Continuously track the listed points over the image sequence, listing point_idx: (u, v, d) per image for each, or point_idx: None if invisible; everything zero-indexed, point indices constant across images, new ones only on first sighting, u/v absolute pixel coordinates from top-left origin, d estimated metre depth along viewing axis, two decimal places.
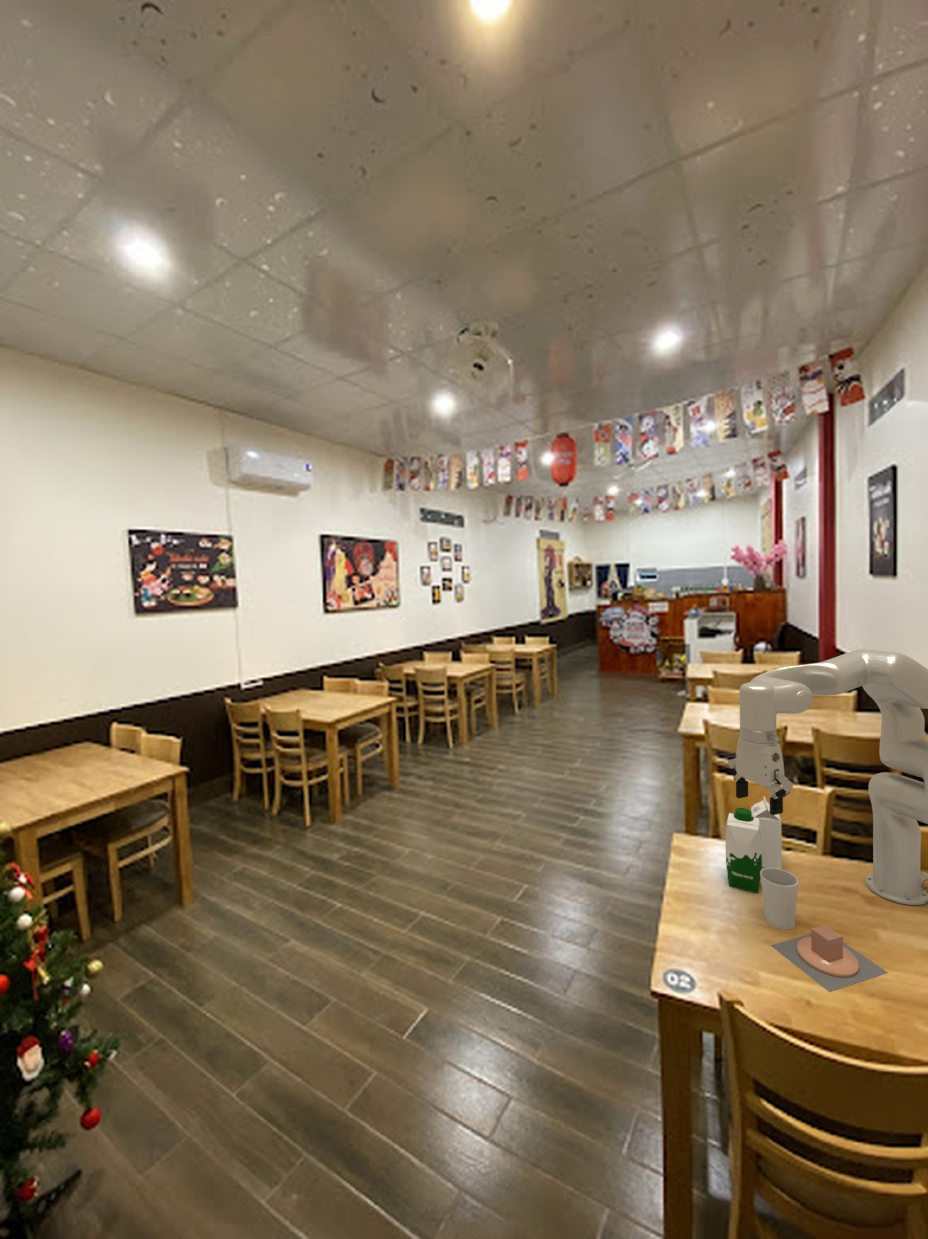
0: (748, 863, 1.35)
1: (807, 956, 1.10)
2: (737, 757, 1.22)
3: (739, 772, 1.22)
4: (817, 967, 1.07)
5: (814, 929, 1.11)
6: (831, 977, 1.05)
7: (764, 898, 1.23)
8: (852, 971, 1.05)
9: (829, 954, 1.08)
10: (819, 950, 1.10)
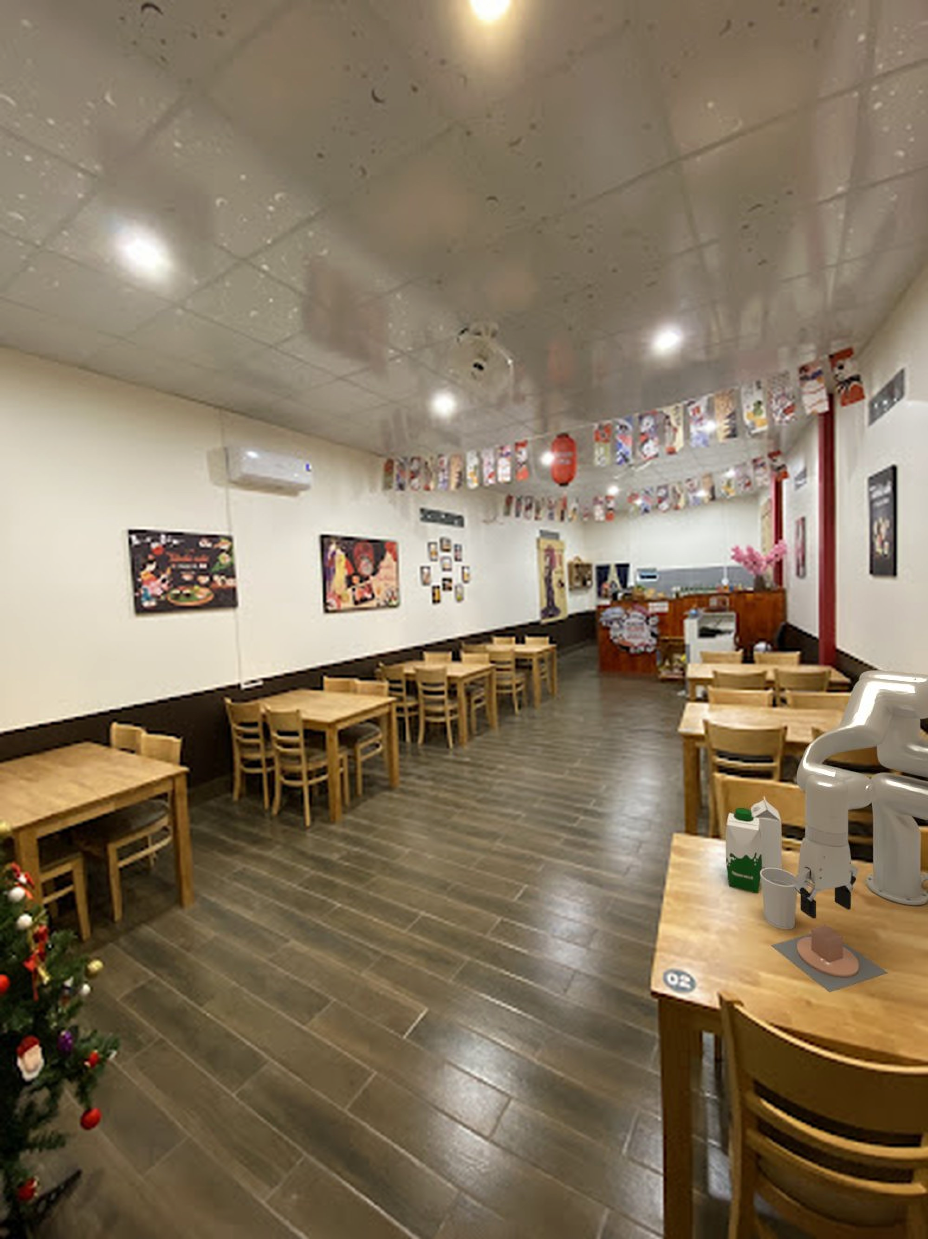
0: (748, 863, 1.35)
1: (807, 956, 1.10)
2: (821, 871, 1.06)
3: (822, 886, 1.06)
4: (817, 967, 1.07)
5: (814, 929, 1.11)
6: (831, 977, 1.05)
7: (764, 898, 1.23)
8: (852, 971, 1.05)
9: (829, 954, 1.08)
10: (819, 950, 1.10)
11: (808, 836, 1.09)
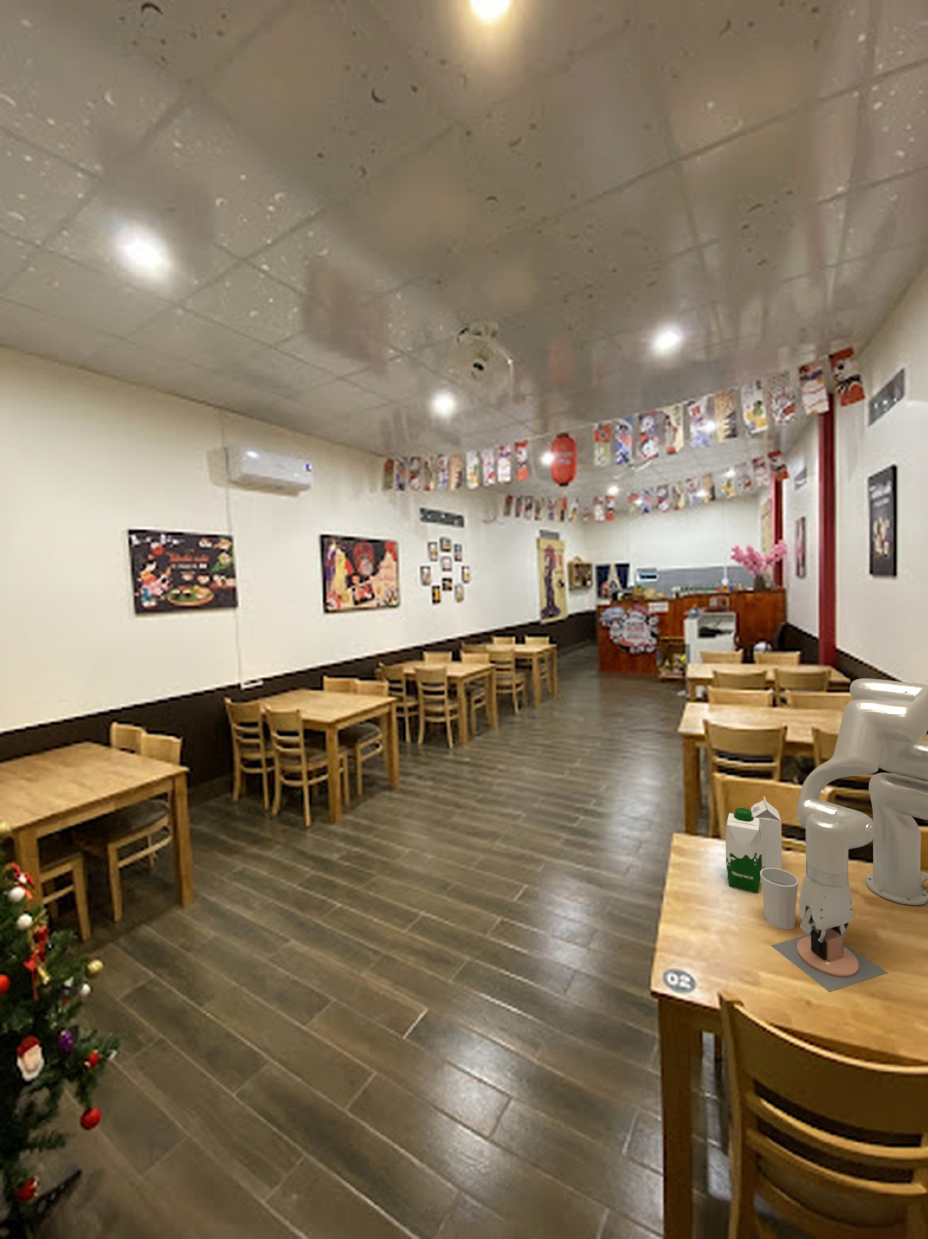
0: (748, 863, 1.35)
1: (807, 956, 1.10)
2: (821, 911, 1.06)
3: (823, 926, 1.07)
4: (817, 967, 1.07)
5: None
6: (831, 977, 1.05)
7: (764, 898, 1.23)
8: (852, 970, 1.05)
9: (829, 954, 1.08)
10: None
11: (809, 875, 1.09)
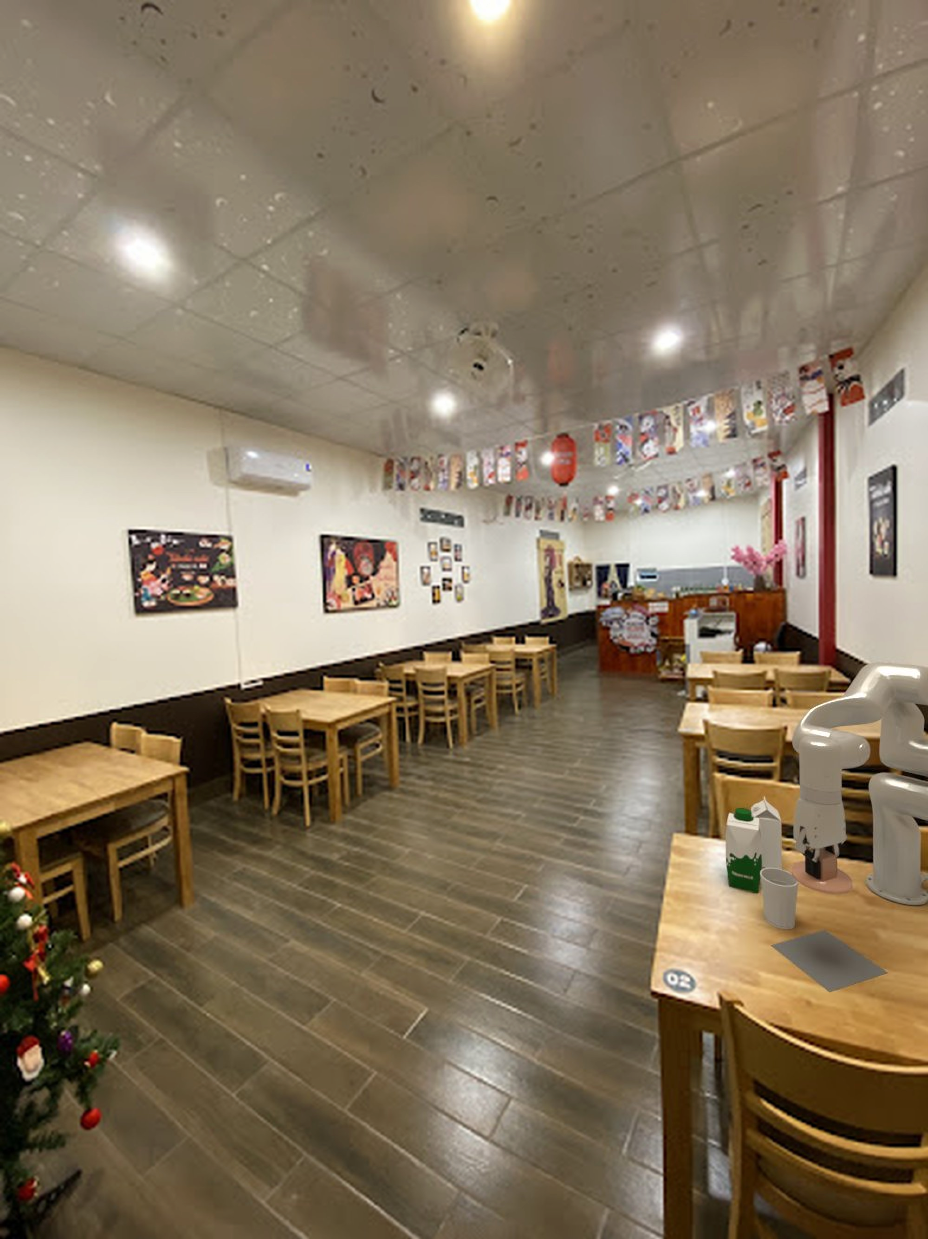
0: (748, 863, 1.35)
1: (802, 877, 1.10)
2: (815, 829, 1.07)
3: (817, 845, 1.07)
4: (812, 886, 1.07)
5: None
6: (831, 977, 1.05)
7: (764, 898, 1.23)
8: (846, 887, 1.06)
9: (823, 873, 1.08)
10: None
11: (803, 796, 1.10)
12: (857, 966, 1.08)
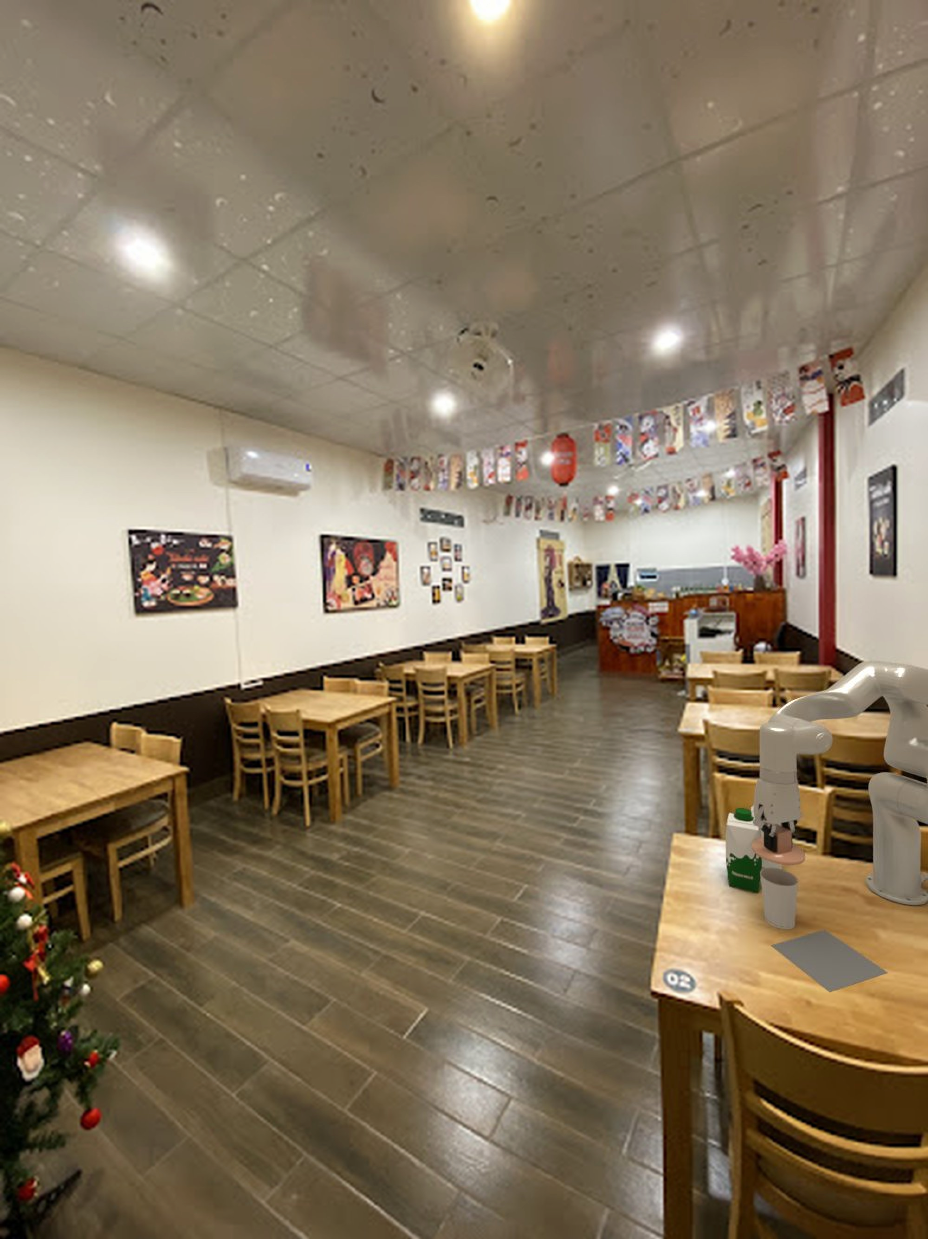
0: (748, 863, 1.35)
1: (760, 850, 1.21)
2: (772, 806, 1.18)
3: (773, 820, 1.18)
4: (768, 858, 1.19)
5: None
6: (831, 977, 1.05)
7: (764, 898, 1.23)
8: (798, 859, 1.17)
9: (779, 846, 1.19)
10: None
11: (762, 777, 1.21)
12: (857, 966, 1.08)
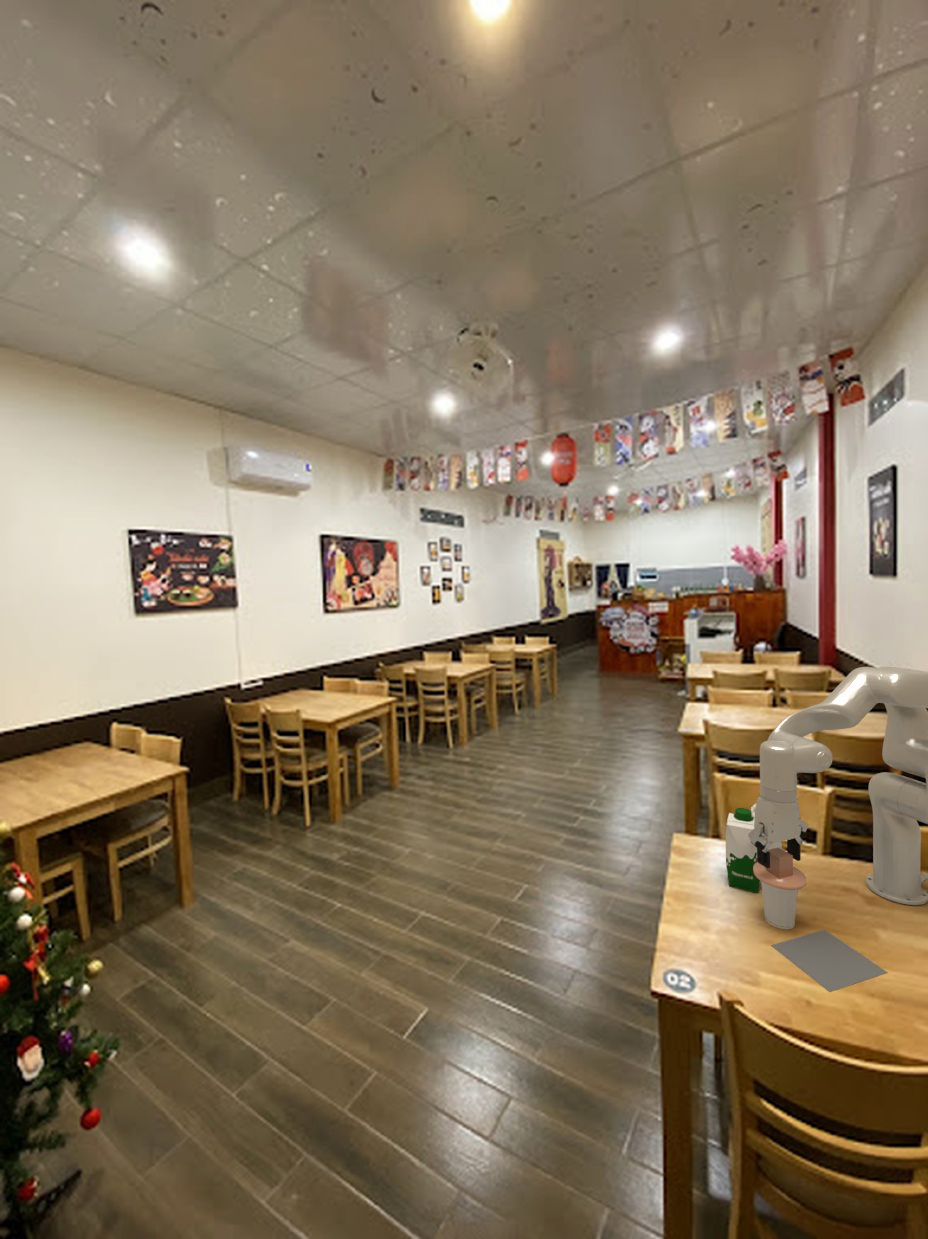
0: (748, 863, 1.35)
1: (761, 874, 1.22)
2: (772, 825, 1.18)
3: (774, 839, 1.19)
4: (769, 882, 1.19)
5: (768, 851, 1.23)
6: (831, 977, 1.05)
7: (764, 898, 1.23)
8: (800, 884, 1.17)
9: (780, 871, 1.20)
10: (772, 868, 1.22)
11: (762, 795, 1.21)
12: (857, 966, 1.08)
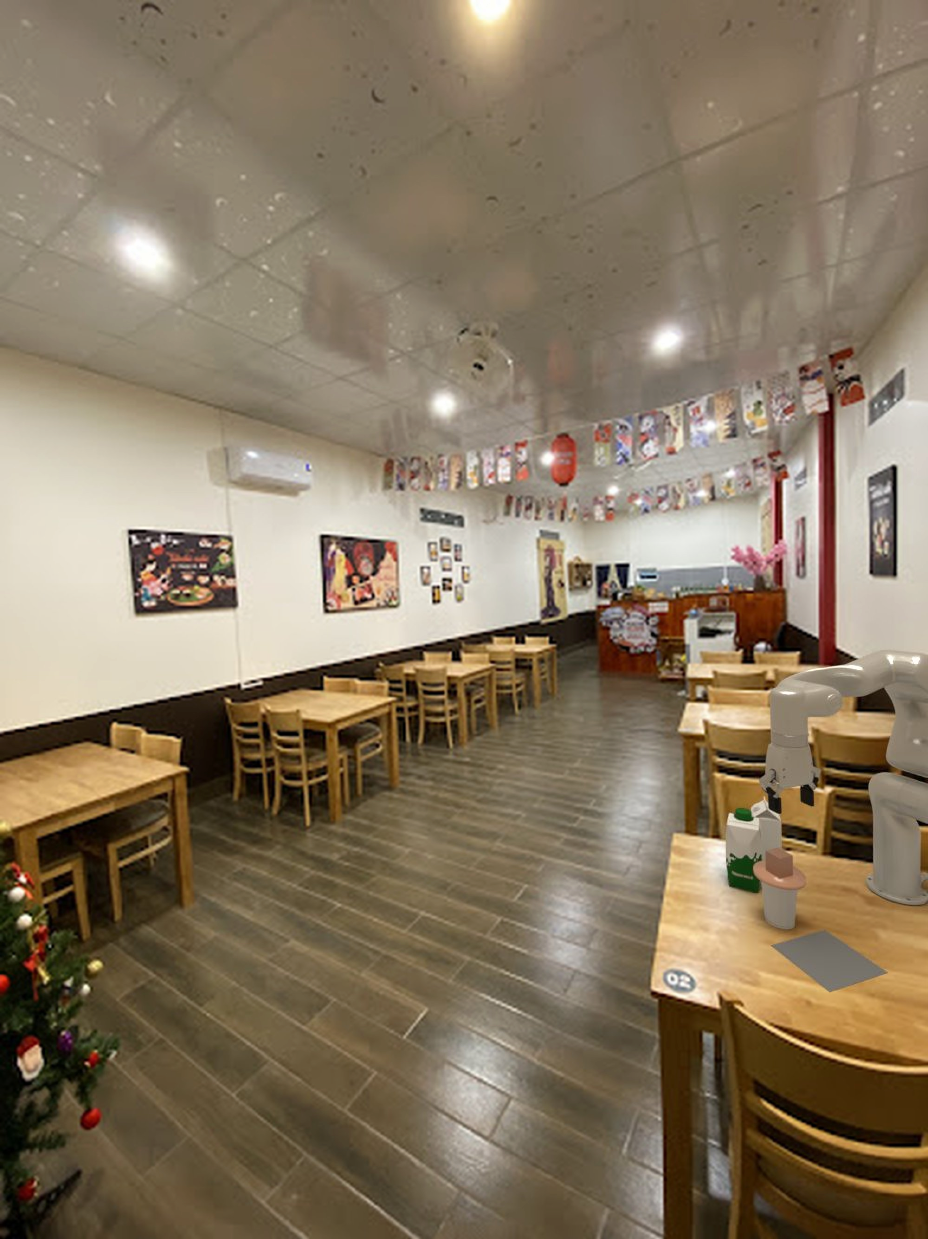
0: (748, 863, 1.35)
1: (761, 875, 1.22)
2: (784, 770, 1.17)
3: (786, 785, 1.18)
4: (769, 882, 1.19)
5: (768, 851, 1.23)
6: (831, 977, 1.05)
7: (764, 898, 1.23)
8: (800, 884, 1.17)
9: (780, 871, 1.20)
10: (772, 868, 1.22)
11: (773, 741, 1.20)
12: (857, 966, 1.08)
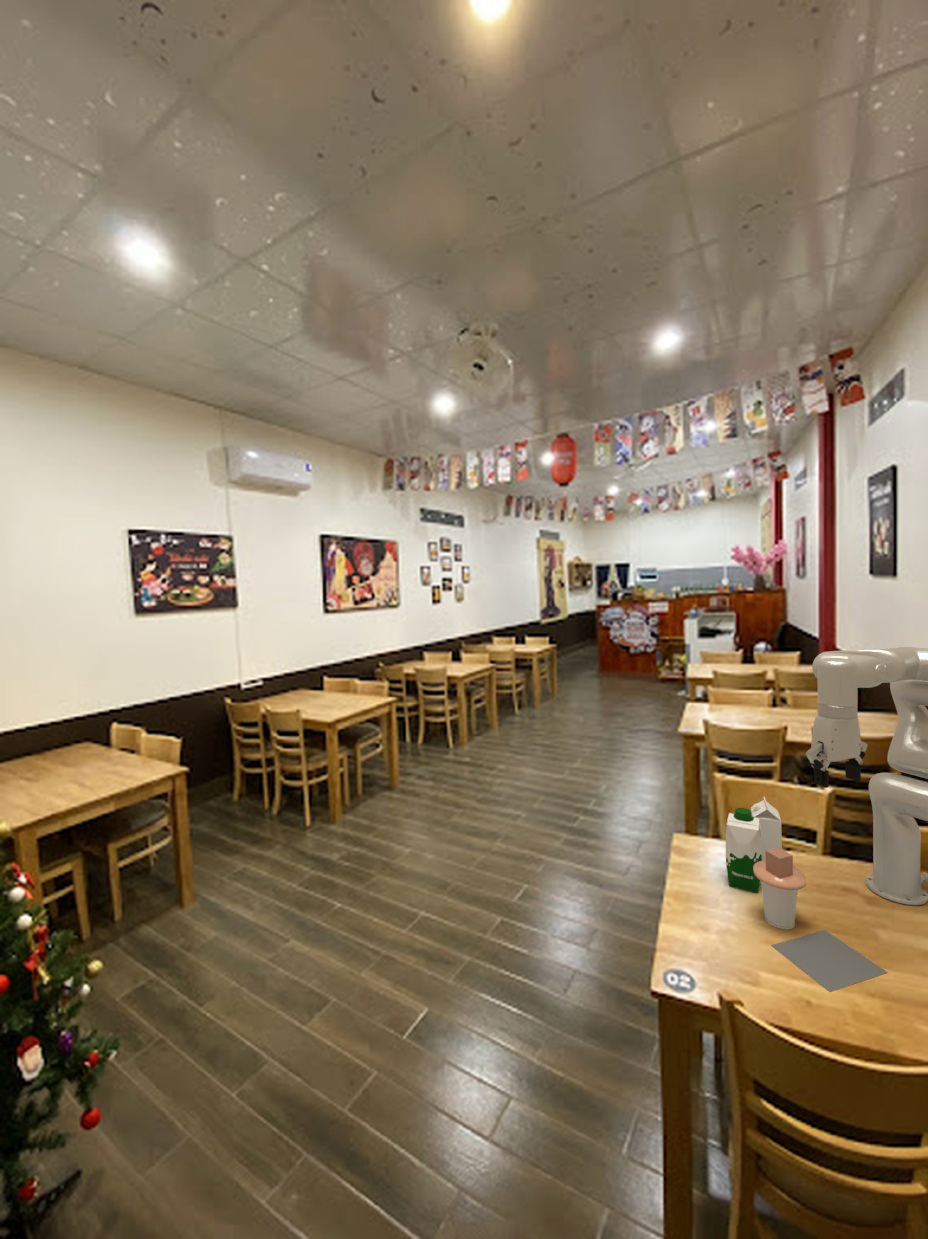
0: (748, 863, 1.35)
1: (761, 874, 1.22)
2: (832, 742, 1.14)
3: (834, 757, 1.15)
4: (769, 882, 1.19)
5: (768, 851, 1.23)
6: (831, 977, 1.05)
7: (764, 898, 1.23)
8: (800, 884, 1.17)
9: (780, 871, 1.20)
10: (772, 868, 1.22)
11: (820, 713, 1.17)
12: (857, 966, 1.08)
